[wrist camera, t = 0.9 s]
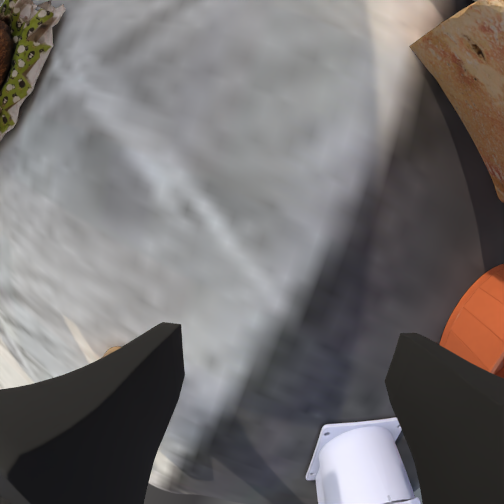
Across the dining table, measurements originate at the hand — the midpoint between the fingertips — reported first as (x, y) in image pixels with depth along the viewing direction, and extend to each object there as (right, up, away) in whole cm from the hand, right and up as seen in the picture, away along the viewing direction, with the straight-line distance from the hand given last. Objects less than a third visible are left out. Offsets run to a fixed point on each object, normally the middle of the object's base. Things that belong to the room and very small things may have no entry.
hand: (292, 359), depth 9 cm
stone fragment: (+11, +9, -1) cm, 14 cm away
